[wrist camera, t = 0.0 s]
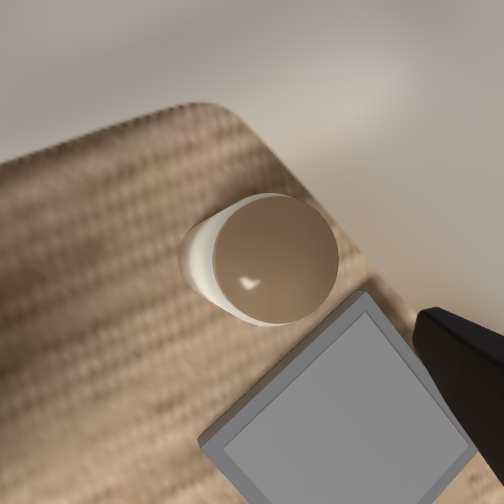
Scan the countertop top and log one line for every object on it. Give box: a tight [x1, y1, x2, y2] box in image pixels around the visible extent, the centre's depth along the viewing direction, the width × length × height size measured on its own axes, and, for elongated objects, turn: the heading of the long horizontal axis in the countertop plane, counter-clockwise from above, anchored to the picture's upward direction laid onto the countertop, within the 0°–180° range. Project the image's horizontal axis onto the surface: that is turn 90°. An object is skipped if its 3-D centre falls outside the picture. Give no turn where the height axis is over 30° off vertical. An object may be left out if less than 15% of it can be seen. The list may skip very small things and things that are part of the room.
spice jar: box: [178, 193, 339, 326], centre depth 19 cm, size 4×4×10 cm
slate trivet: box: [197, 290, 478, 504], centre depth 25 cm, size 12×12×1 cm
